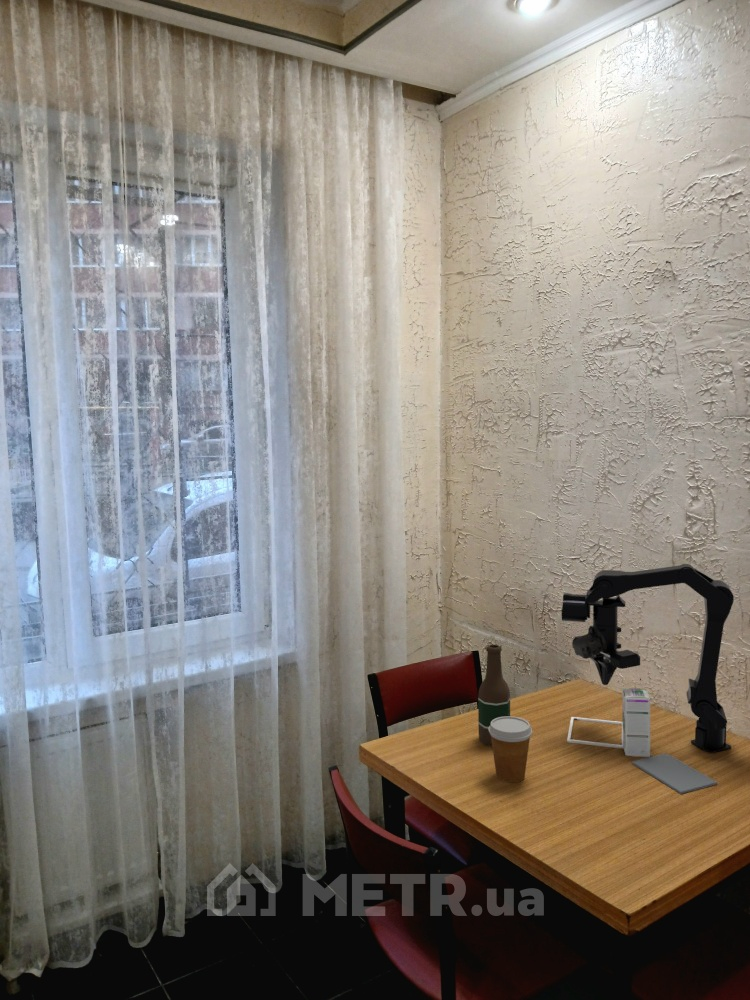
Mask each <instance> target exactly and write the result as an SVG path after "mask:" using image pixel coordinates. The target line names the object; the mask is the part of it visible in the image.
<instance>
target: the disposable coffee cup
mask: <svg viewBox="0 0 750 1000" xmlns="http://www.w3.org/2000/svg"><path fill="white" fill-rule="evenodd" d="M489 732H490V735H491V740H492V746H491V747H492V753H493V761H494V770H495V776H496V778H497V779H499V780H500V781H503V782H505V783H518V782H521V781H523V780H524V779H525V777H526V771H527V770H526V769H527V761H528V754H529V748H530V747H529V746H530V741H531V736H532V734H533V729H532V727H531V725H530V722H529V721H528V720H527V719H525V718H523V717H522V718H521V717H518V716H512V715H510V716H504V717H498V718H495V719H493V720H492V721H491V724H490V726H489Z"/></svg>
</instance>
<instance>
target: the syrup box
mask: <svg viewBox="0 0 750 1000" xmlns="http://www.w3.org/2000/svg"><path fill="white" fill-rule="evenodd" d="M622 722H623V748H622V749H623V752H624V755H625V756H627V757H635V758H636V757H637V758H649V757H651V698H650V695H649V692H648V690H647V689H646V688H645V689H644V688H638V687H631V688H630V687H629V688H622Z"/></svg>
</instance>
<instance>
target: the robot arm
mask: <svg viewBox="0 0 750 1000" xmlns="http://www.w3.org/2000/svg"><path fill="white" fill-rule="evenodd" d="M679 584H685V585H686V586H687V587H690V588H691V589H692V590H693V591H694V592H696V593H697V594H698V595H700V596H701V597H703V598H704V613H705V621H704V629H703V635H702V636H703V637H702V643H701V651H700V657H699V664H698V671H697V673H696V674H697V675H696V676H695V679H692V678H688V690H686V699H687V700H686V701H687V703H688V705H689V704H690V710H691V712H692V713H693V714H694V716H695V717H697V718H698V719H697V720H696V721H695V722H696V724H695V725H696V726H695V728H694V730H695V732H694V733H695V734H694V739H691V740H690V743H691V744H693V745H695V746H696V747H699V748H700V749H702V750H704V751H707V752H708V753H710V754H713V753H717V752H722V751H725V750H731V749H732V745H731V744H728V743H727V723H728V720H727V716H726V712H725V710H724V707H723V706H722V705H721V704H720V703H719V701H718V695H717V684H716V682H717V681H716V679H717V673H718V667H719V658H720V652H721V646H722V645H721V644H722V638H723V633H724V625H725V623H726V621H727V619H728V617H729V616H730V613H731V610H732V607H733V604H734V600H735V599H734V598H735V597H734V596H735V595H734V594H733V592H732V589H731V587H730V586H729V585H728V584H727V583H726V582H725V581H723V580H719V579H718V580H715V579H713V578H712V577H710V576H708V575H707V574H705V573H704V572H702V571H700V570H698V569H696V568H695V567H694V566H692V565H691V564H689V563H682V564H680V565H674V566H665V567H660V568H658V567H657V568H652V569H650V568H649V569H644V570H637V571H624V570H611V569H608V570H607V569H605V570H599V571H598V572H597V573H596V574H595V575H594V578H593V581H592V585H591V586H590V587H589V589H588V590H587V592H586V593H585V594H577V593H576V594H572V593H568V592H564V593H563V595H562V606H561V621H562V622H576V623H577V622H578V623H586V622H587V621H588V619H591V607H592V625H590V626H589V628H588V629H587V630H588V631H587V633H586V634H584V635H583V634H582V635H578V636H575V637H574V638H573V639H572V643H571V644H572V649H573V650H574V653H575V656H579V657H582V659H590V660H591V661H592V662H594V664H595V668H596V669H597V672H598V673H597V674H598V675H599V678H600V681H601V684H602V685H603V686H607V685H609V684H610V682H611V679H612V677H613V676H614V674H615V672H616V670H617V668H618V669H623V670H624V669H629V668H635V667H639V666H641V656H640V655H639V654H638V653H637V652H634V651H631V650H629V649H624V650H619V649H622V643H619V642H618V633H622V627H620V626H618V614H619V613H618V610H619V609H618V608H626V602H627V601H625V600H624V599H623V598H622V597H621V595H622V594H626V593H628V592H630V591H634V590H641V589H647V588H655V587H663V586H671V585H679ZM601 599H602V600H601Z"/></svg>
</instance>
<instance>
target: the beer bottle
mask: <svg viewBox="0 0 750 1000" xmlns="http://www.w3.org/2000/svg"><path fill="white" fill-rule="evenodd" d="M485 651H486V652H487V653H486V654H487V655H486V672H485V678H484V679H483V681H482V682H481V684H480V686H479V689H478V697H477V699H478V700H477V701H478V702H477V703H478V705H477V706H478V707H477V708H478V710H477V711H478V713H477V714H478V716H477V717H478V740H479V741H480V743H482V745H484V746H488V747H492V740H491V735H490V732H489V726H490V724H491V721H492V720H493V719H495V718H498V717H504V716H511V692H510V691H511V690H510V687H509V684H508V683H507V682H506V680H505V679H504V677H503V676H504V675H503V669H502V667H503V665H502V654H501V652H502V651H503V649H502V647H501V645H499V644H488V645H487V647H486V649H485Z"/></svg>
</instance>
